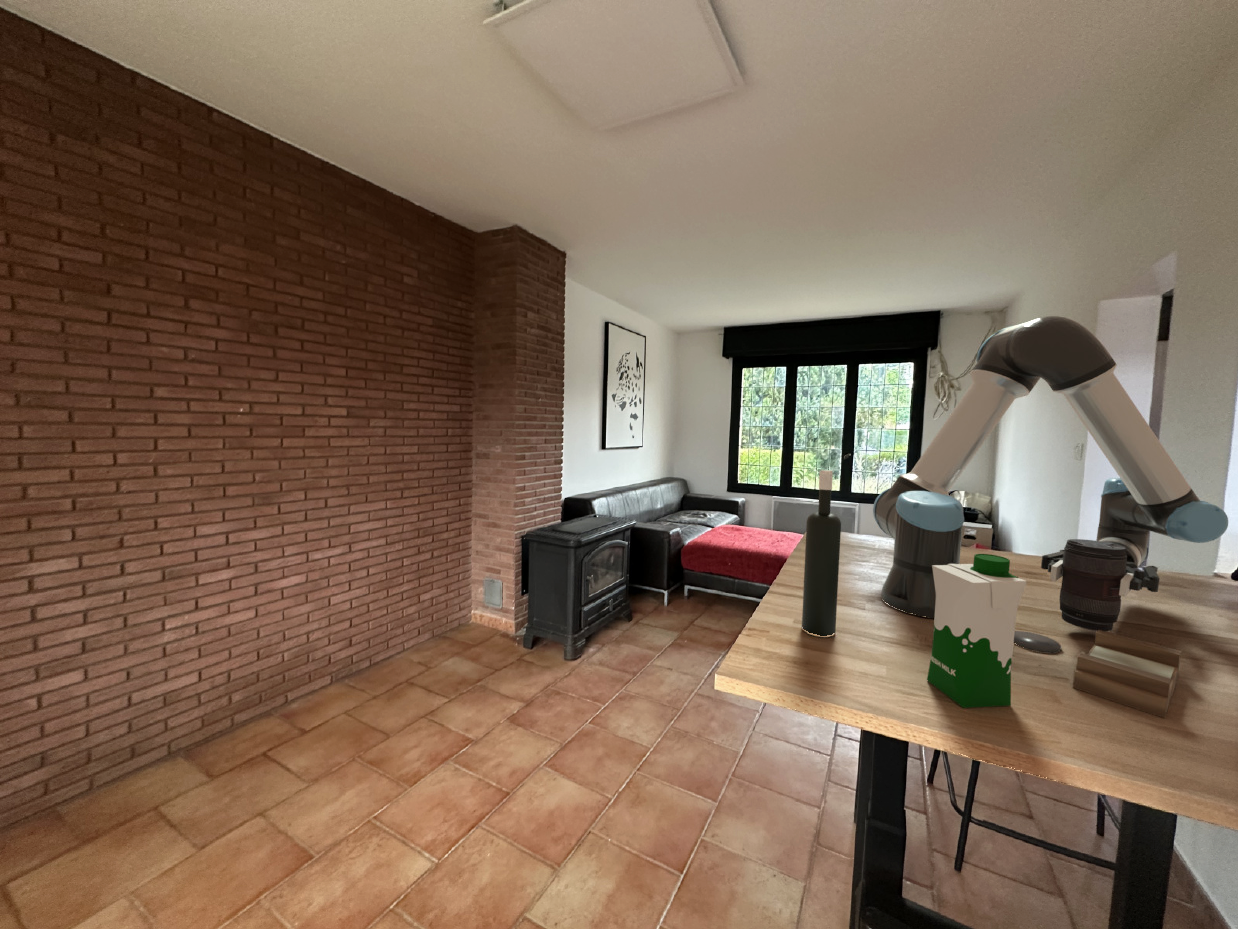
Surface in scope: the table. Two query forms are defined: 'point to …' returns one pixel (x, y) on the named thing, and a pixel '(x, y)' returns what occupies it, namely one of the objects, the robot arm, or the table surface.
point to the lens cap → (1036, 642)
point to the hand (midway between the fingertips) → (1086, 580)
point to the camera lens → (1092, 583)
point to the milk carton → (975, 630)
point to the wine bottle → (821, 564)
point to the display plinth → (1129, 672)
